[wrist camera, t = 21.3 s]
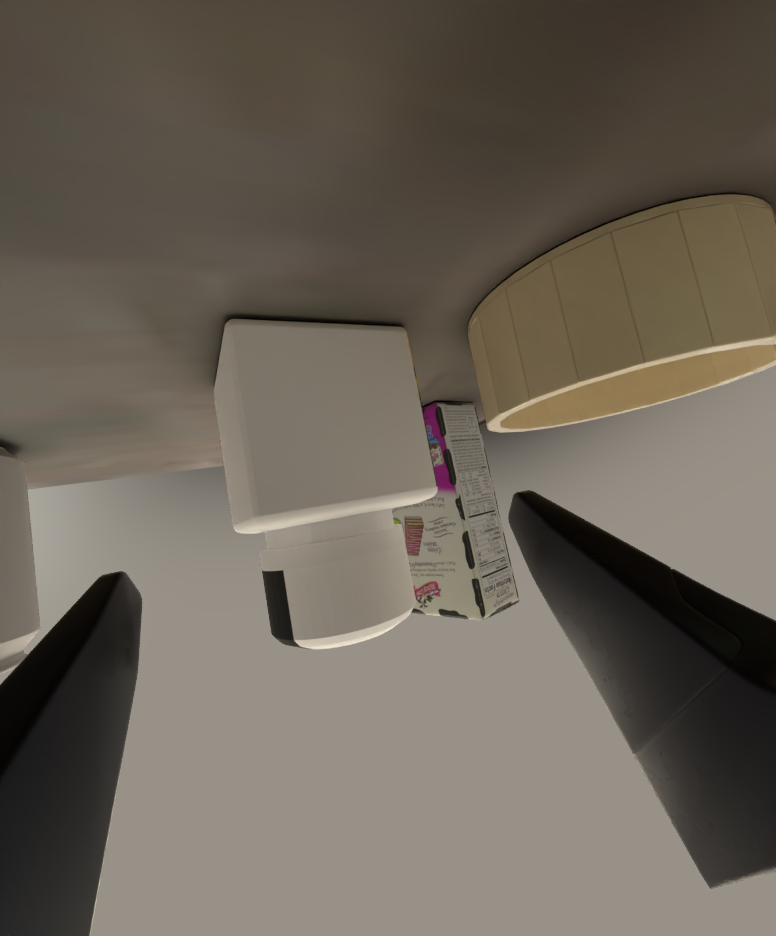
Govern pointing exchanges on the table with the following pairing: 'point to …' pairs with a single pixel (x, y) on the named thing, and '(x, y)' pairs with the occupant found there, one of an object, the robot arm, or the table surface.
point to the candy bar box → (457, 525)
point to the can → (15, 565)
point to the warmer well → (631, 315)
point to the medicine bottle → (324, 470)
